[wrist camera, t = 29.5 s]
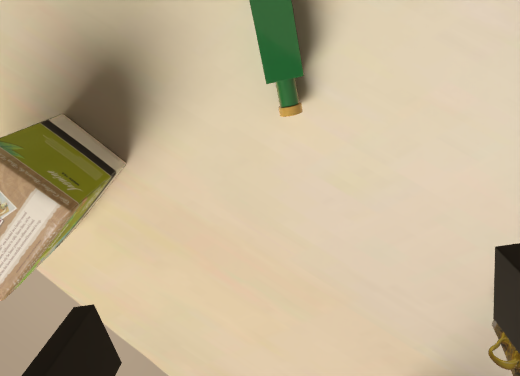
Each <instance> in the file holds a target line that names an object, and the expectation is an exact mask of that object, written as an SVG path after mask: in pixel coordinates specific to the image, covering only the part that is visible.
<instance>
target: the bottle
mask: <svg viewBox="0 0 520 376" xmlns="http://www.w3.org/2000/svg"><path fill="white" fill-rule="evenodd" d="M250 5H251V10H252V15H253V20H254V25H255V30H256V35H257V40H258V45H259V50H260V54H261V59H262V64H263V69H264V74H265V79H266V84H269V83H274V82H276V87H277V92H278V97H279V103H280V106H279V112H280V116H282V117H286V116H293V115H297V114H299V113H301V112H302V111H303V110H302V104H301V102H299V97H298V91H297V86H296V80H295V78H297V77H302V76H304V74H303V68H302V62H301V56H300V50H299V44H298V38H297V31H296V25H295V19H294V13H293V7H292V1H291V0H250Z"/></svg>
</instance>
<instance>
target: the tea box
mask: <svg viewBox="0 0 520 376" xmlns="http://www.w3.org/2000/svg"><path fill="white" fill-rule="evenodd" d="M125 165H126V163H125V162H124V161H123V160H122V159H121V158H119V157H118V156H117V155H115V154H114V153H113V152H112V151H110V150H109V149H108V148H106V147H105V146H104V145H103V144H101V143H100V142H99V141H98V140H96V139H95V138H94V137H92V136H91V135H90V134H88V133H87V132H86V131H85V130H83V129H82V128H81V127H80V126H78V125H77V124H76V123H74V122H73V121H72V120H70V119H69V118H68V117H66V116H65V115H64V114H61V115H59V116H56V117H53V118H50V119H48V120H46V121H43V122H40V123H37V124H35V125H32V126H30V127H27V128H25V129H22V130H20V131H17V132H14V133H12V134H9V135H7V136H4V137H1V138H0V300H1V301H2V300H4V299H5V298H6V297H7V296H8V295H10V293H11V292H12V291H14V290H15V289H16V288H17V287H18V286H19V285H20V284H21V283H22V282H23V280H25V279H26V278H27V276H29V275H30V274H31V273H32V272H33V271H34V270H35V269H36V268H37V267H38V266H39V265H40V264H41V263H42V262H43V261H44V260H45V259H46V258H47V257H48V256H49V255H50V254H51V253H52V252H53V251H54V250H55V249H56V248H57V247H58V246H59V245H60V244H61V243H62V242H63V241H64V240H65V239H66V238H67V237H68V236H69V235H70V234H71V232H72V231H73V230H74V229H75V228H76V227H77V225H78V224H79V223H80V222H81V220H82V219H83V218H84V217H85V215H86V214H87V213H88V212H89V211H90V209H91V208H92V207H93V205H94V204H95V203H96V202H97V200H98V199H99V198H100V197H101V196H102V194H103V193H104V192H105V190H106V189H107V188H108V187H109V185H110V184H111V183H112V182H113V180H114V179H115V178H116V177H117V175H118V174H119V173H120V171H121V170H122V169H123V168H124V166H125Z"/></svg>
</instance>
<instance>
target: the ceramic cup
mask: <svg viewBox="0 0 520 376" xmlns="http://www.w3.org/2000/svg"><path fill="white" fill-rule="evenodd" d="M492 326H493V328H494V330H495V332H496V334H497V337H498V339H499V340H498V341H497V343H496V344H495V345H494V346H492V347H491V348H490V349H489V356H490V358H491V359H492V360H493V361H494V362H495V363H496V364H497V365H498V366H500V367H502V368H504V369H508V370H511V371H512V374H513V376H520V354H519V353H518V351H517V350H516V348H515V347H514V346H513V344H512V343H511V342H510V340H509V339H508V338H507V336H506V335H505V333H504V332H503V331H502V329H501V328H500V327H499V325H498V324H497V323H496V321H495V320H494V321H493V323H492ZM500 344H501V346H502V348H503V350H504V352H505V355H506V358H507V361H503V360H501V359H499V358H497V357H496V356H494V354H493V352H492V351H493V350H495V349H496V348H498V347H499V346H500Z"/></svg>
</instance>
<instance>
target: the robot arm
mask: <svg viewBox="0 0 520 376" xmlns="http://www.w3.org/2000/svg"><path fill="white" fill-rule="evenodd" d="M494 320H495V321H496V323H497V324H498V325H499V327H500V328H501V329H502V331H503V332H504V333H505V335H506V336H507V338H508V339H509V340H510V342H511V343H512V344H513V346H514V347H515V348H516V350H517V351H518V353H519V354H520V243H519V244H512V245H505V246H498V247H495V278H494ZM121 363H122V362H121V361H120V358H119V356H118V354H117V352H116V350H115V348H114V346H113V344H112V342H111V339H110V337H109V335H108V333H107V331H106V329H105V327H104V325H103V323H102V321H101V319H100V316H99V314H98V312H97V310H96V308H95V306H94V305H87V306H80V307H74V308H73V309H72V310H71V312H70V313H69V314H68V316H67V317H66V318H65V320H64V321H63V322H62V323H61V325H60V326H59V328H58V329H57V330H56V331H55V333H54V334H53V335H52V337H51V338H50V339H49V340H48V342H47V343H46V345H45V346H44V347H43V348H42V350H41V351H40V352H39V354H38V355H37V357H36V358H35V359H34V360H33V361H32V363H31V364H30V365H29V367H28V368H27V369H26V371H25V372H24V373H23V375H22V376H115V375H116V373H117V371H118V369H119V367H120V365H121Z"/></svg>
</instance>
